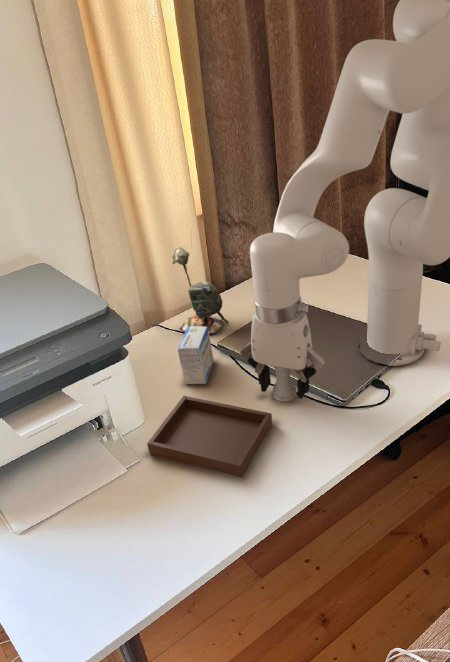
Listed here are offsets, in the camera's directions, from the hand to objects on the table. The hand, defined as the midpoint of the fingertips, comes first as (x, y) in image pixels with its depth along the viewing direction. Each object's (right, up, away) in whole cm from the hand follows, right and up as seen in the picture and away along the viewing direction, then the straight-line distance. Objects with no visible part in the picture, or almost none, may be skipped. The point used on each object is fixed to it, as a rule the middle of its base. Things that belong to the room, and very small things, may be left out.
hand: (284, 390), depth 117 cm
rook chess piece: (0, -1, +1) cm, 1 cm away
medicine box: (-16, +3, +10) cm, 19 cm away
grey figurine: (-15, +14, +22) cm, 30 cm away
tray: (-13, -9, -6) cm, 17 cm away
